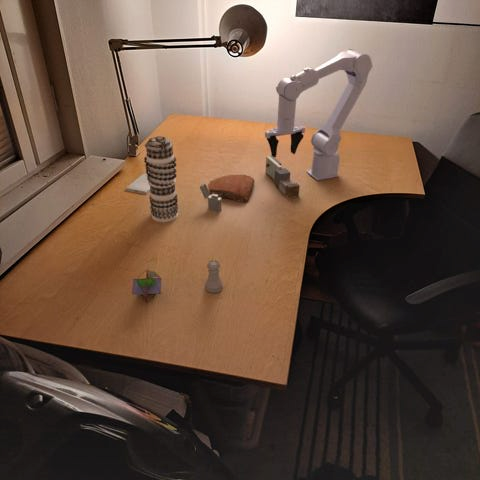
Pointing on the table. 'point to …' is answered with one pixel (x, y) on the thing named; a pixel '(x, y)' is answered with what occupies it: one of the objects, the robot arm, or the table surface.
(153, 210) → the decorative candle
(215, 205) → the lighter
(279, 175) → the grey block
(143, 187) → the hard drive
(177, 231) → the table surface
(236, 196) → the ceramic shard
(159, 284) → the geometric puzzle
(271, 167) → the cream bar
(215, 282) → the rook chess piece
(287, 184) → the door frame
